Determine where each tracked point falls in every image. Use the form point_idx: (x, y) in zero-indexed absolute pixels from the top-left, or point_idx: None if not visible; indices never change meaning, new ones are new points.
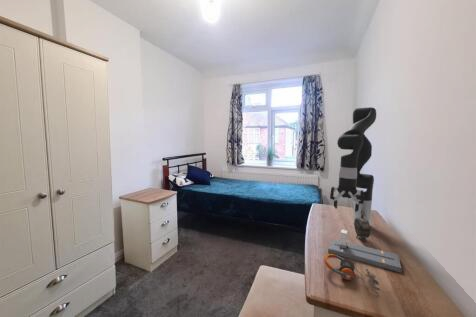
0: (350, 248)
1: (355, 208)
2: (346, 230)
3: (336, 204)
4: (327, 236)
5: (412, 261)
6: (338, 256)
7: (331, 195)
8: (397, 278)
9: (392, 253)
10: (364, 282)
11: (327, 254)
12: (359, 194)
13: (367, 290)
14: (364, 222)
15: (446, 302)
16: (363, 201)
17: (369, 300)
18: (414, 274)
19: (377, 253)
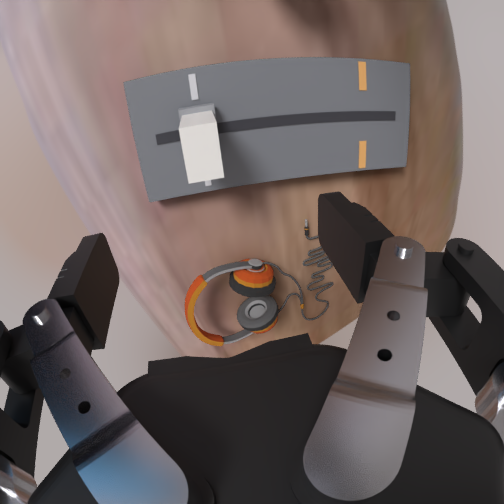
0: (235, 129)
1: (337, 265)
2: (210, 124)
3: (107, 316)
4: (90, 33)
5: (434, 58)
6: (218, 274)
7: (24, 420)
8: (381, 202)
9: (395, 63)
10: (301, 301)
11: (187, 309)
12: (483, 398)
13: (306, 319)
14: None
15: (443, 231)
16: (463, 321)
17: (308, 328)
18: (425, 147)
19: (345, 97)
